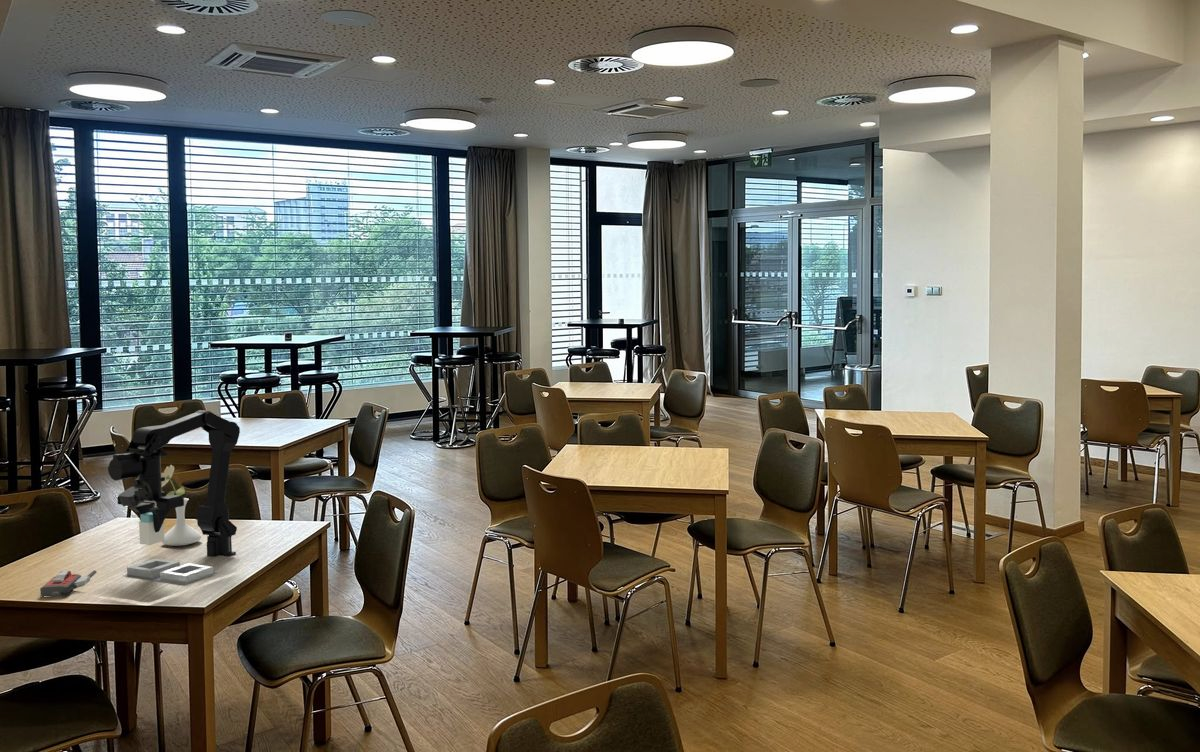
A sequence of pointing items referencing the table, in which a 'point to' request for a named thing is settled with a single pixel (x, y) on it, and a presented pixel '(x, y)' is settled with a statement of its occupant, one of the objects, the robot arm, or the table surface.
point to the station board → (163, 580)
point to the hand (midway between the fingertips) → (151, 531)
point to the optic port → (186, 573)
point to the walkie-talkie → (64, 583)
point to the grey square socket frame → (151, 568)
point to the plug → (149, 530)
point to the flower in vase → (179, 518)
